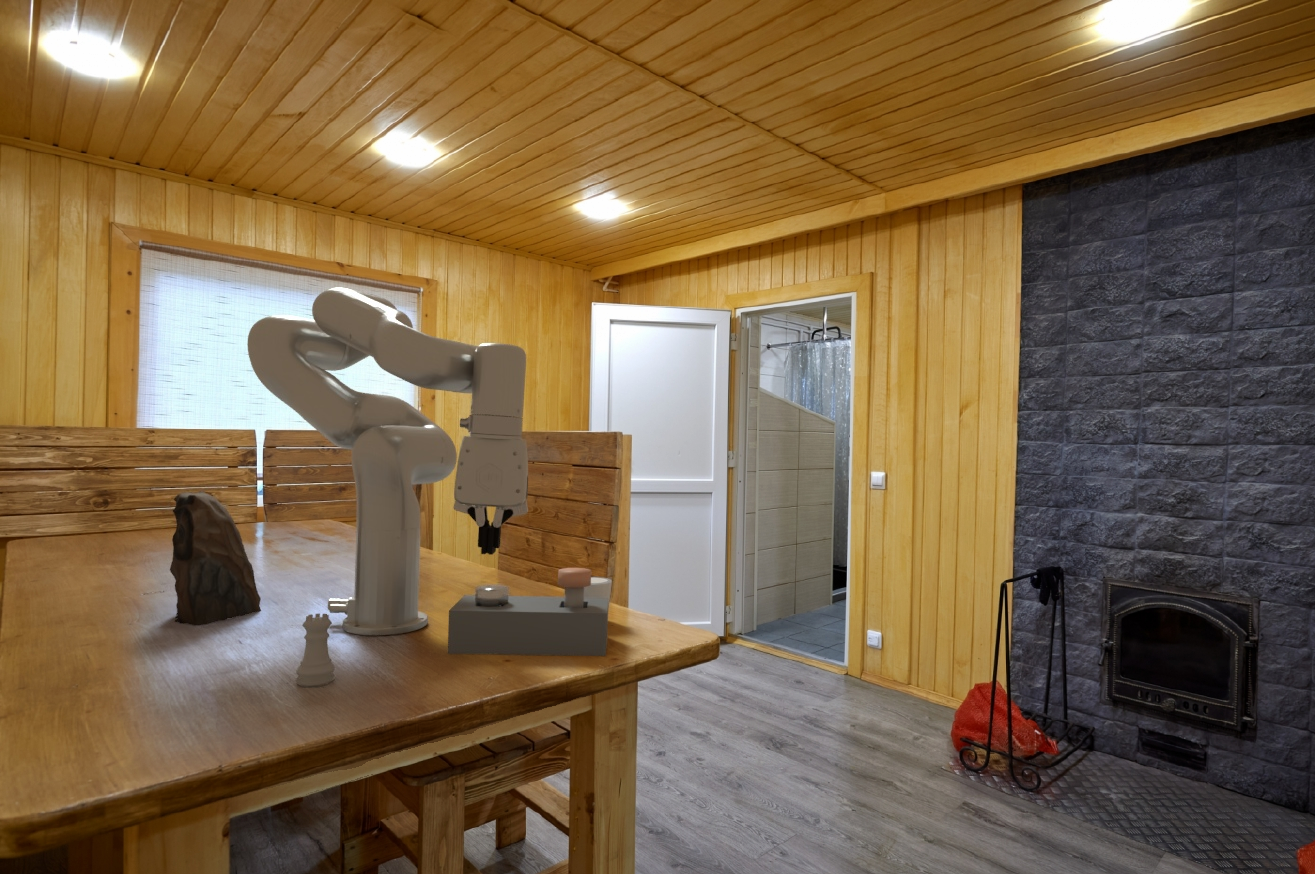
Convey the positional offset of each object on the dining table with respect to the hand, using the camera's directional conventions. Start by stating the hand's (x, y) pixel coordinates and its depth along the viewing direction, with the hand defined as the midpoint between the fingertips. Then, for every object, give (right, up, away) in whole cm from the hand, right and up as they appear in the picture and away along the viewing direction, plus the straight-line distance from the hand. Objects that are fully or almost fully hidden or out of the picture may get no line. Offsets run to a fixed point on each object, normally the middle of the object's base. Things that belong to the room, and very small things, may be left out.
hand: (488, 552), depth 105 cm
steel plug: (0, -13, 0) cm, 13 cm away
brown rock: (-47, -12, +11) cm, 50 cm away
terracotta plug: (+12, -10, 0) cm, 16 cm away
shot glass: (+14, -14, +14) cm, 24 cm away
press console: (+6, -14, 0) cm, 15 cm away
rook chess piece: (-17, -13, -18) cm, 28 cm away
